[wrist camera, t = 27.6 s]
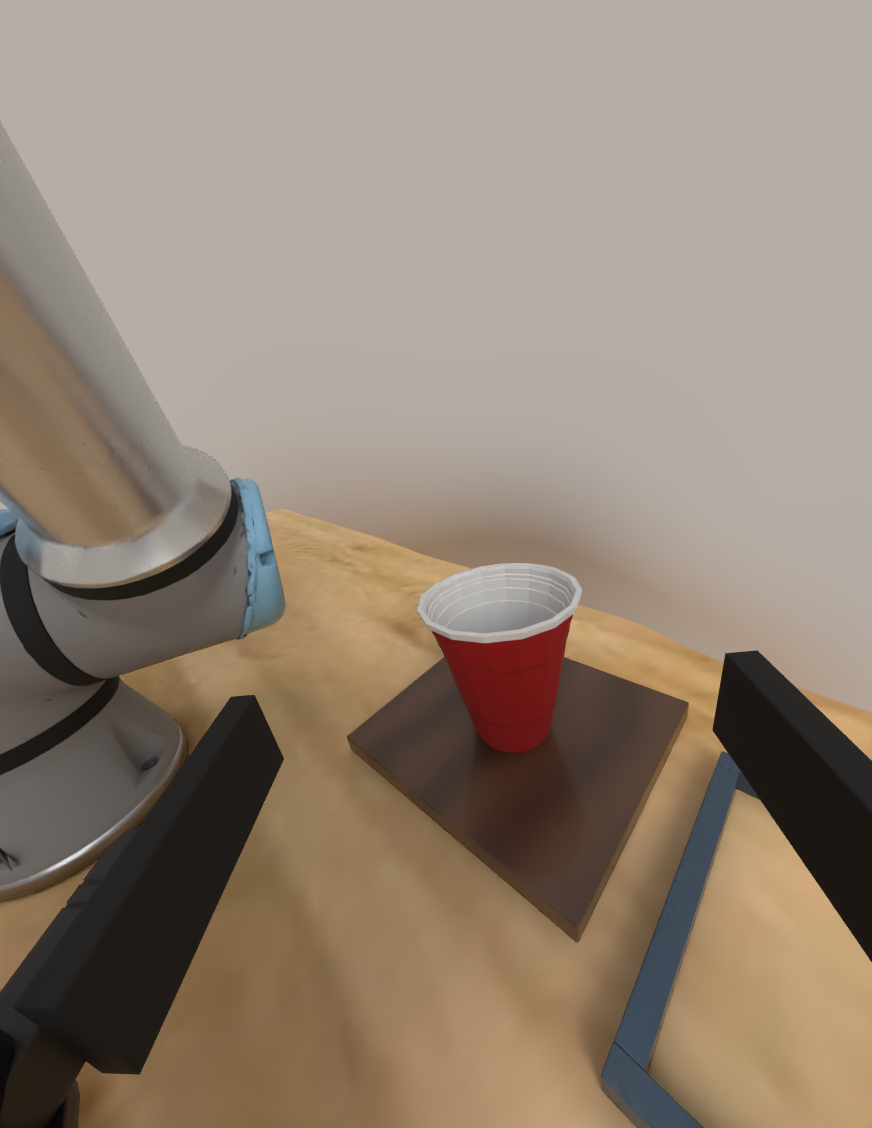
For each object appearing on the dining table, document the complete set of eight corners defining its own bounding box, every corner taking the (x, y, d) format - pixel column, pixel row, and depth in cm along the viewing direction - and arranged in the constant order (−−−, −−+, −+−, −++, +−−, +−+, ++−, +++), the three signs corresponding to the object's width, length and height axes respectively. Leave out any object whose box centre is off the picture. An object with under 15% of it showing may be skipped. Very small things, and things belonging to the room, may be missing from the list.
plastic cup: (551, 663, 37) (544, 543, 32) (613, 762, 28) (617, 611, 23) (435, 689, 37) (409, 571, 32) (456, 800, 27) (425, 654, 22)
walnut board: (350, 749, 34) (346, 736, 34) (482, 637, 45) (481, 626, 44) (577, 943, 21) (577, 928, 20) (687, 716, 32) (689, 702, 31)
